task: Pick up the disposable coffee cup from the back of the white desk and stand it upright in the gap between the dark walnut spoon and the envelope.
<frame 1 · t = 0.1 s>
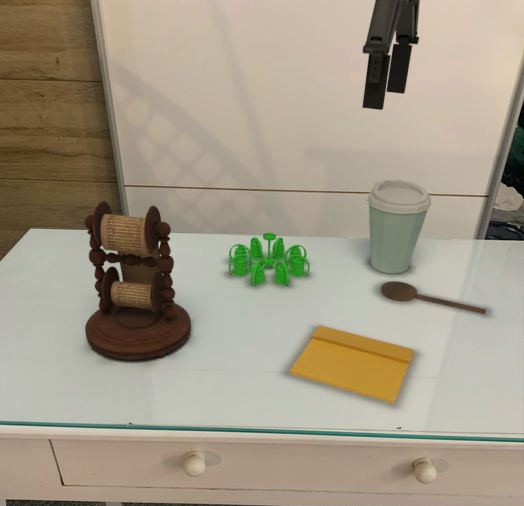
hand: (384, 100, 81), 29 cm above the table, tool pointing down, fingers open, 13 cm apart
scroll: (140, 339, 81), on the table
chandelier: (268, 272, 99), on the table
envelope: (352, 367, 76), on the table
disposable coffee cup: (387, 270, 102), on the table
spoon: (427, 302, 92), on the table
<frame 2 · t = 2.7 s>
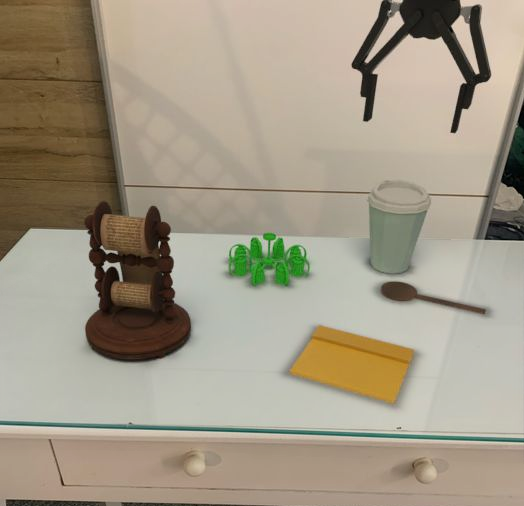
hand: (409, 125, 87), 25 cm above the table, tool pointing down, fingers open, 13 cm apart
nothing on the table moved.
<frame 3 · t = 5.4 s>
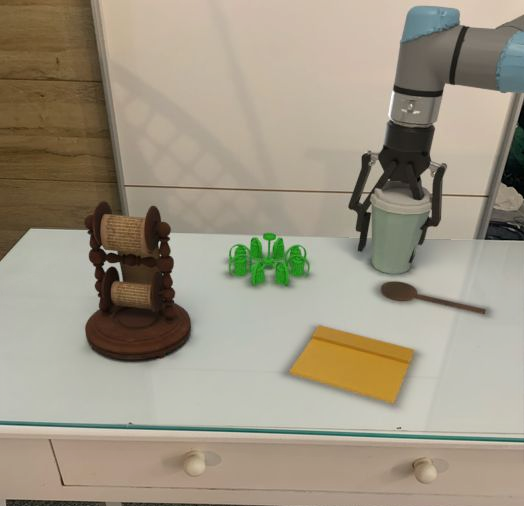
hand: (385, 254, 100), 3 cm above the table, tool pointing down, fingers open, 8 cm apart
disposable coffee cup: (388, 270, 101), on the table, touching gripper, hand
everything else where it was.
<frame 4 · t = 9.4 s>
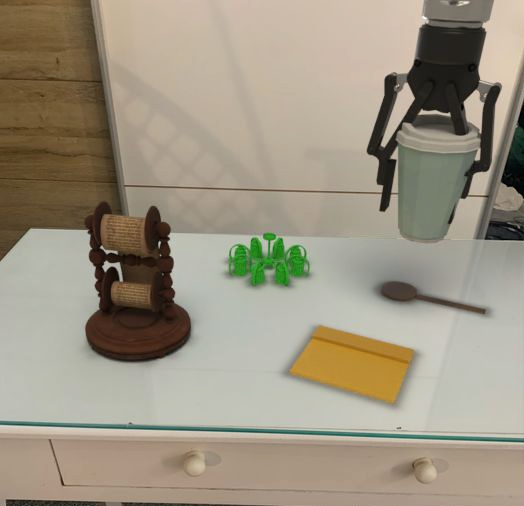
hand: (416, 214, 76), 18 cm above the table, tool pointing down
disposable coffee cup: (419, 236, 78), point 14 cm above the table, touching gripper, hand
everything else where it was.
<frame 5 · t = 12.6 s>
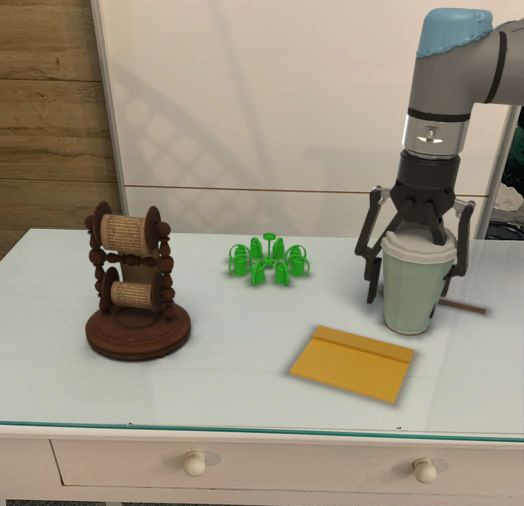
hand: (400, 306, 83), 4 cm above the table, tool pointing down, fingers open, 8 cm apart
disposable coffee cup: (403, 325, 84), point 1 cm above the table, touching gripper, hand
everything else where it was.
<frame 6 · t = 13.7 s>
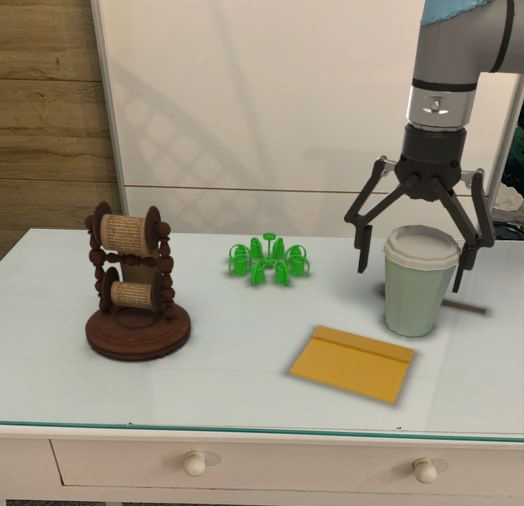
hand: (407, 279, 80), 8 cm above the table, tool pointing down, fingers open, 13 cm apart
disposable coffee cup: (405, 330, 85), on the table
everything else where it was.
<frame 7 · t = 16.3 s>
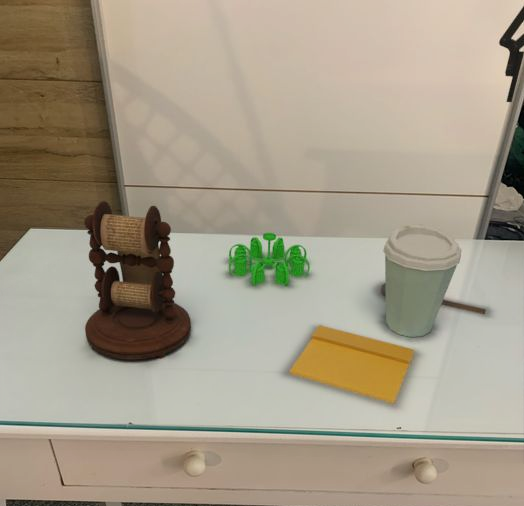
nothing on the table moved.
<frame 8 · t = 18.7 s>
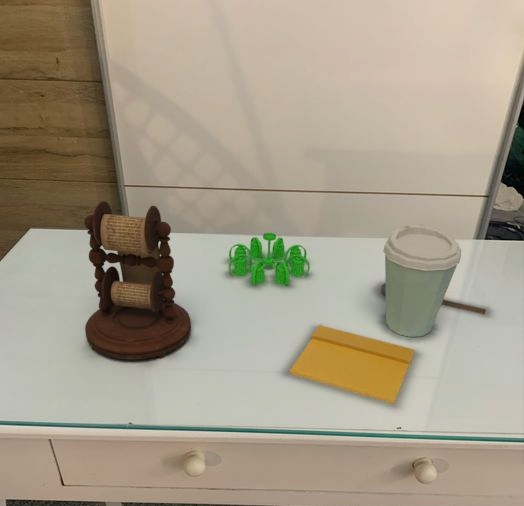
nothing on the table moved.
at the end: disposable coffee cup inside the target area on the table beside the spoon (1.5 cm from its centre), on the table; disposable coffee cup 13.8 cm from the envelope (horizontally); disposable coffee cup tilted 0° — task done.
